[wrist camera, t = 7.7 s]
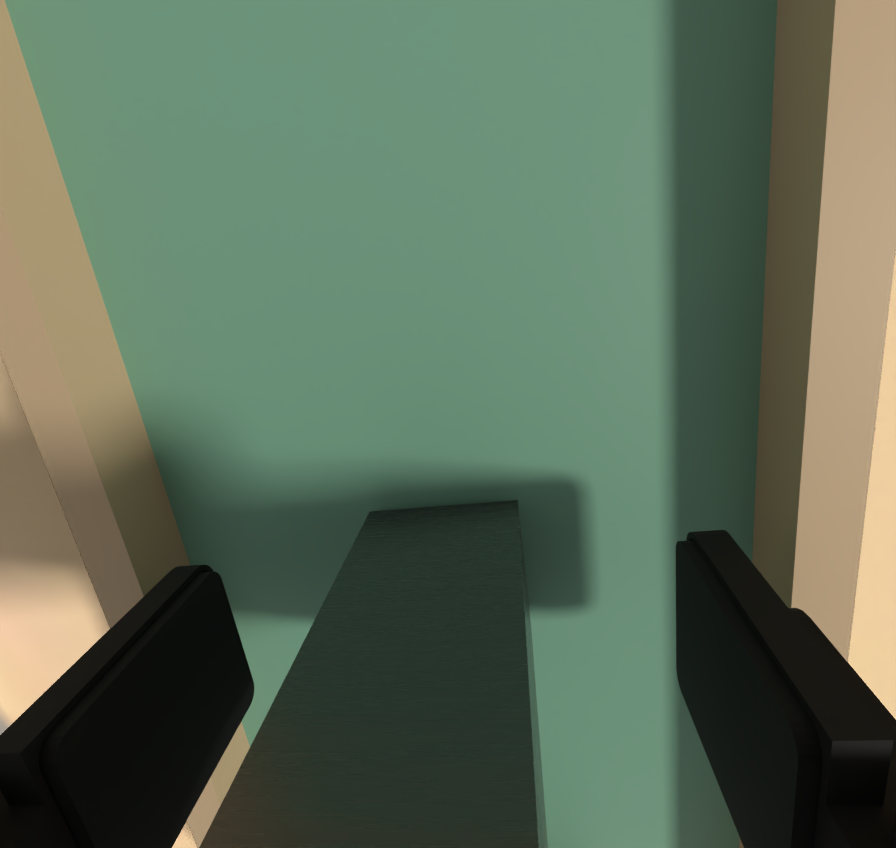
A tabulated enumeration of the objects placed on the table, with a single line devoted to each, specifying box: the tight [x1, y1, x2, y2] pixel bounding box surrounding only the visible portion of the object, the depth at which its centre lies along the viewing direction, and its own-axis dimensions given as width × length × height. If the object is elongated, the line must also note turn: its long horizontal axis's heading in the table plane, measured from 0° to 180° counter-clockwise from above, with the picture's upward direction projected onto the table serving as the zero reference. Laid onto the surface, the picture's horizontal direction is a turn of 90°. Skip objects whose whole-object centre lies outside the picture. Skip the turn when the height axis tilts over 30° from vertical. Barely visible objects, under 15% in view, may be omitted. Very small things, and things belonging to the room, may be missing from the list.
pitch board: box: [0, 0, 896, 848], centre depth 11 cm, size 25×14×4 cm, turn 8°
